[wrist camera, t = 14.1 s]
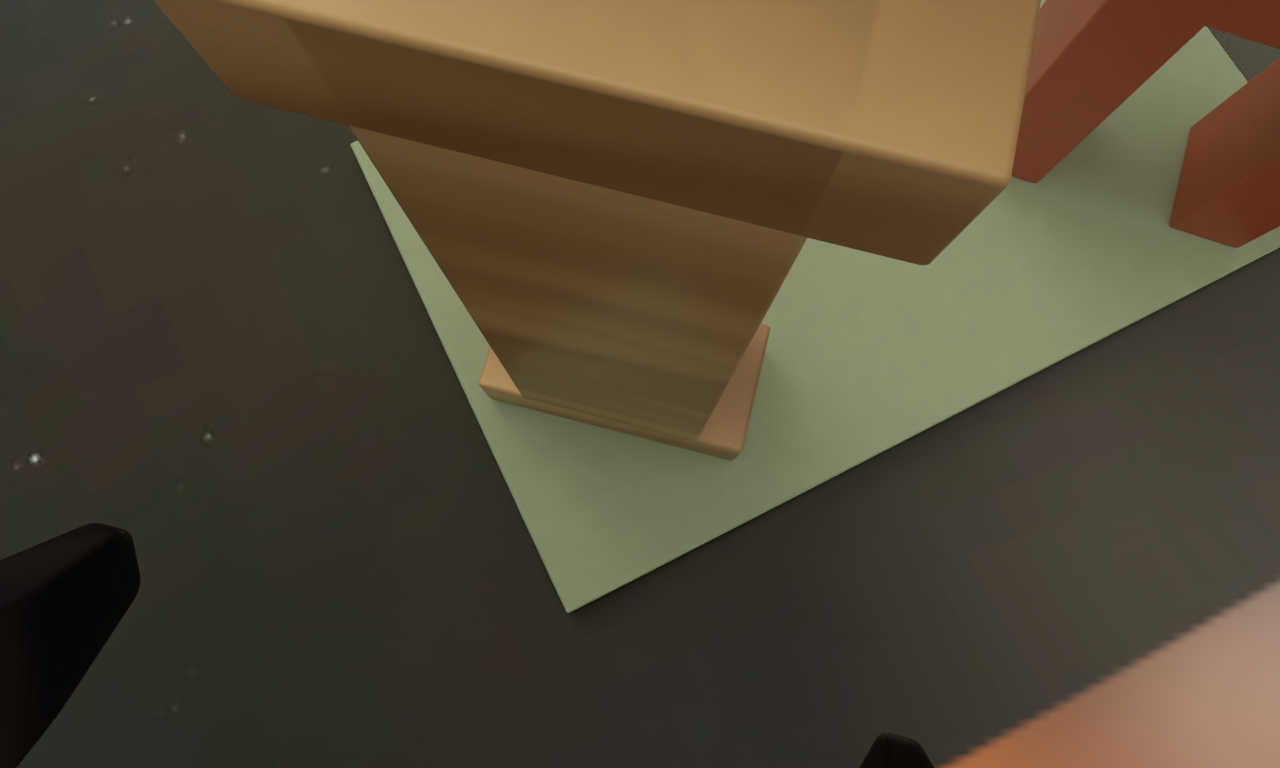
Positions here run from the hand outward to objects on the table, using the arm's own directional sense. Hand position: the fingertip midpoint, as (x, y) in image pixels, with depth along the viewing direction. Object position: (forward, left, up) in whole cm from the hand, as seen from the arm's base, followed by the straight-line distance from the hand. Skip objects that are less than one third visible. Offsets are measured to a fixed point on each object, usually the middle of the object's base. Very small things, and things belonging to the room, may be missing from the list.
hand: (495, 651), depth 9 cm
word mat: (+10, -8, -9) cm, 16 cm away
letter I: (+5, -2, -9) cm, 11 cm away
